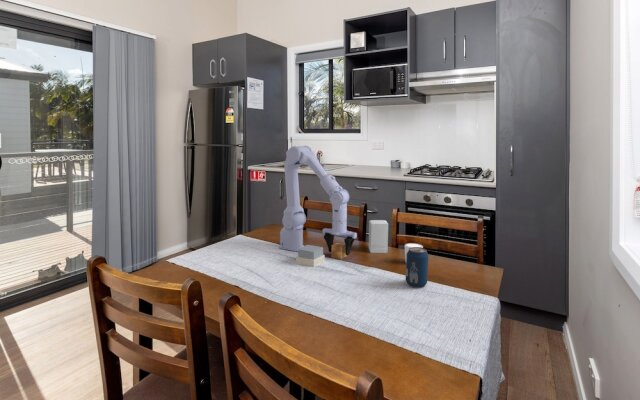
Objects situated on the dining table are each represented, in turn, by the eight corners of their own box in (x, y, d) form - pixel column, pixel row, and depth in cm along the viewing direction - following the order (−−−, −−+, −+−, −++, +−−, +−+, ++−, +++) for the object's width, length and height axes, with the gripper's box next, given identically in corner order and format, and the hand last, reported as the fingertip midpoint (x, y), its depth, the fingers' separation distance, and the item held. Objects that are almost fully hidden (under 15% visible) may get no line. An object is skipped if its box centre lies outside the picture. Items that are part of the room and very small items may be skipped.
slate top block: (298, 256, 150) (298, 249, 150) (307, 252, 156) (307, 244, 156) (313, 259, 147) (313, 252, 146) (323, 254, 153) (323, 247, 152)
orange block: (331, 257, 158) (331, 245, 157) (336, 254, 162) (337, 242, 161) (341, 259, 156) (341, 246, 155) (346, 256, 160) (346, 244, 159)
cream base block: (296, 264, 150) (296, 256, 150) (307, 258, 157) (307, 251, 157) (313, 268, 146) (313, 260, 146) (324, 262, 153) (324, 254, 153)
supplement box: (387, 253, 163) (388, 223, 161) (369, 253, 164) (370, 223, 161) (385, 248, 171) (386, 219, 169) (368, 248, 171) (368, 219, 169)
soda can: (423, 280, 133) (425, 246, 131) (429, 288, 126) (431, 252, 124) (403, 280, 133) (404, 246, 131) (408, 288, 126) (409, 252, 124)
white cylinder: (422, 266, 147) (423, 248, 146) (403, 265, 148) (404, 247, 147) (421, 260, 154) (422, 243, 153) (403, 259, 155) (404, 242, 154)
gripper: (318, 219, 157) (318, 252, 159) (351, 224, 149) (350, 258, 151) (327, 216, 163) (327, 248, 165) (359, 220, 155) (358, 254, 157)
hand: (339, 253), depth 159 cm, fingers open, 7 cm apart
